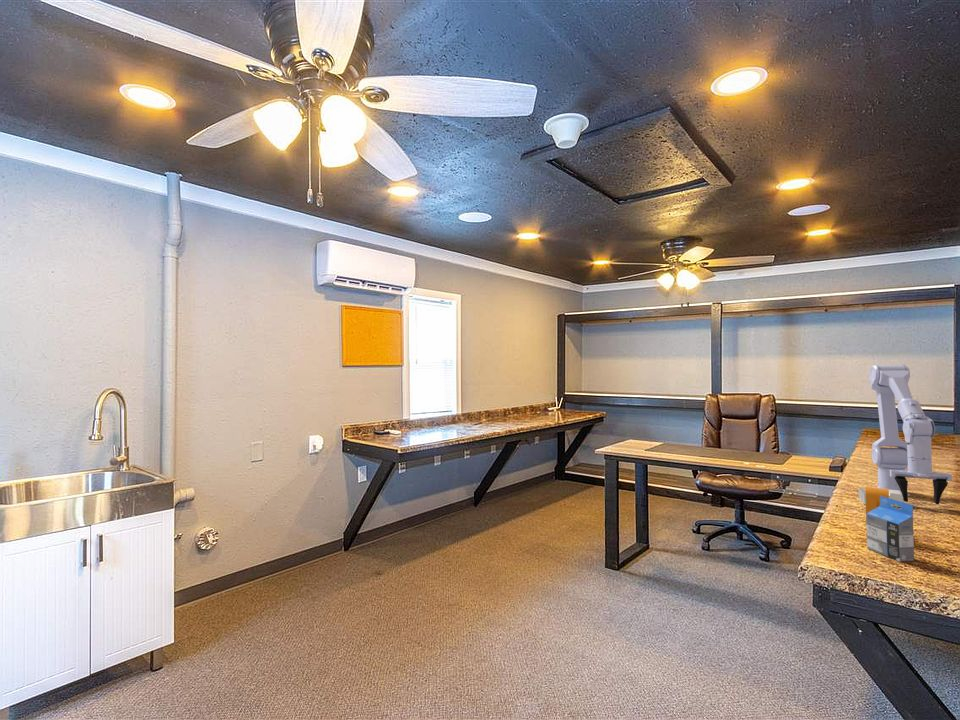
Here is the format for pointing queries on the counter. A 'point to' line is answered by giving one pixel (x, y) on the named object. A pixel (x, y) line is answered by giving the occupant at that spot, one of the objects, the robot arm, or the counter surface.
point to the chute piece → (895, 496)
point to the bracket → (874, 498)
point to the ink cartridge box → (891, 530)
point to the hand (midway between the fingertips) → (920, 502)
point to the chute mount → (864, 496)
